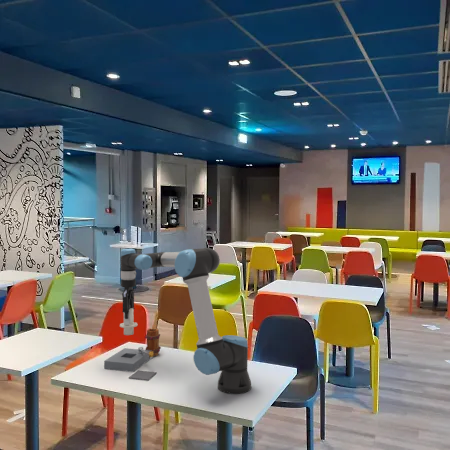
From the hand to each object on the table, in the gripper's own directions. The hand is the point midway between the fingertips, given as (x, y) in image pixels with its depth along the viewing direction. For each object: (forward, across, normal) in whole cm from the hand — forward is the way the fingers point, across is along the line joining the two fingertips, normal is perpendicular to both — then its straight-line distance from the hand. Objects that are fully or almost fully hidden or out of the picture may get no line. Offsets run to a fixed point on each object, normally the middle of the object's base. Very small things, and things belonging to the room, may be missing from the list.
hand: (128, 323), depth 246 cm
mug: (+21, +17, -9) cm, 29 cm away
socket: (+21, 0, 0) cm, 21 cm away
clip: (+16, -1, -9) cm, 18 cm away
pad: (+21, -17, -12) cm, 30 cm away
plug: (+6, 0, 0) cm, 6 cm away
